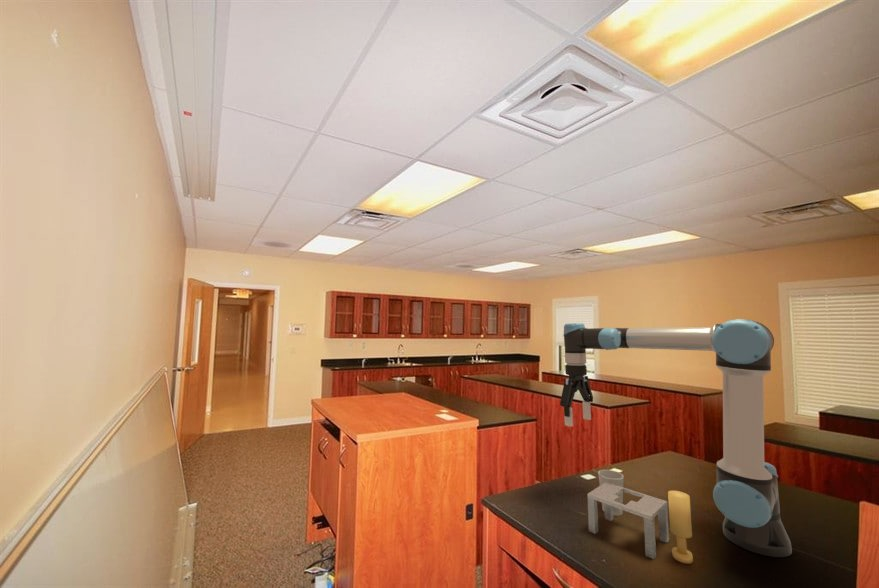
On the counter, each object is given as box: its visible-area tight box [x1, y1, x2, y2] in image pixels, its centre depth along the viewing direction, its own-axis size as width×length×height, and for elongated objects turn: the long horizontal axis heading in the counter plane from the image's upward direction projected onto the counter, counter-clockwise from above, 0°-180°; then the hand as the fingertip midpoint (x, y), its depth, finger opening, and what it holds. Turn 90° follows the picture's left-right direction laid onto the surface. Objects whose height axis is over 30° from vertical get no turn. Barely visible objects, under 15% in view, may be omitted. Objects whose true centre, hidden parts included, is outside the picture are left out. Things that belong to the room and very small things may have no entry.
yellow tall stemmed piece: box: [667, 490, 694, 565], centre depth 98 cm, size 5×5×16 cm
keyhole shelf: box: [586, 482, 670, 560], centre depth 108 cm, size 18×13×11 cm
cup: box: [597, 469, 625, 517], centre depth 123 cm, size 8×8×12 cm
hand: (578, 422), depth 133 cm, fingers open, 13 cm apart
